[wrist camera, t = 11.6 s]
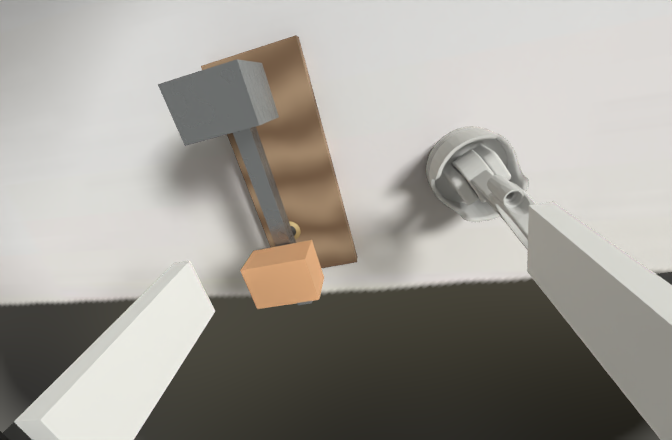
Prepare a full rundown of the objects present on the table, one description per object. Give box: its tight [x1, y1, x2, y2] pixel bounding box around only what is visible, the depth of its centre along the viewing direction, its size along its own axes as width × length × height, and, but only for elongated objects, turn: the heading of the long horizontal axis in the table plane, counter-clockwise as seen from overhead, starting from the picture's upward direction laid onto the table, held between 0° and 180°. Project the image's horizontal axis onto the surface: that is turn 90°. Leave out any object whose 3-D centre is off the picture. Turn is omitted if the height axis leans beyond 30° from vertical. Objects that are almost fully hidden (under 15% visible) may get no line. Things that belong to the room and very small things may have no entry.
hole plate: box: [201, 36, 357, 268], centre depth 42 cm, size 30×12×2 cm, turn 15°
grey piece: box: [158, 59, 312, 305], centre depth 36 cm, size 26×7×14 cm, turn 15°
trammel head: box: [240, 240, 324, 309], centre depth 38 cm, size 5×7×13 cm
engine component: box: [426, 126, 537, 250], centre depth 31 cm, size 11×20×10 cm
